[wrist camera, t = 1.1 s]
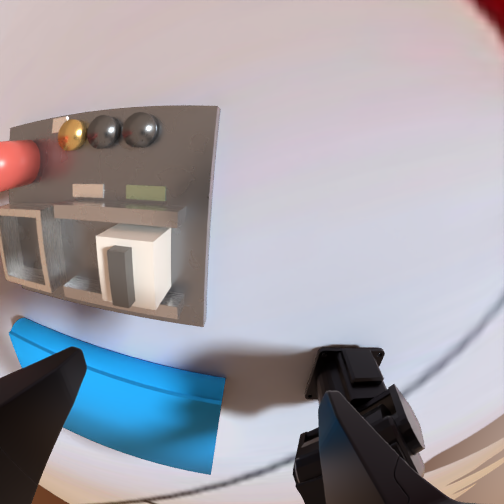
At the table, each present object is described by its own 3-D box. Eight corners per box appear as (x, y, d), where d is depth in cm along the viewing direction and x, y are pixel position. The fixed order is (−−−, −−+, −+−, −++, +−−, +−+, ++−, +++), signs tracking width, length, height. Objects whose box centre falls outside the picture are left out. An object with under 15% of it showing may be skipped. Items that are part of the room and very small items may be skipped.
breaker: (171, 286, 20) (150, 318, 16) (123, 279, 20) (95, 307, 16) (171, 226, 19) (146, 247, 14) (120, 222, 19) (87, 240, 14)
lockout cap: (40, 184, 18) (-1, 195, 13) (14, 185, 18) (-24, 196, 13) (41, 137, 16) (-1, 139, 12) (15, 142, 16) (-25, 146, 12)
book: (212, 475, 27) (46, 421, 26) (215, 450, 31) (58, 403, 30) (222, 400, 21) (4, 330, 20) (227, 366, 25) (25, 312, 24)
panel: (206, 318, 22) (197, 346, 19) (28, 283, 22) (7, 298, 19) (220, 109, 17) (210, 98, 14) (18, 127, 17) (-8, 128, 14)
